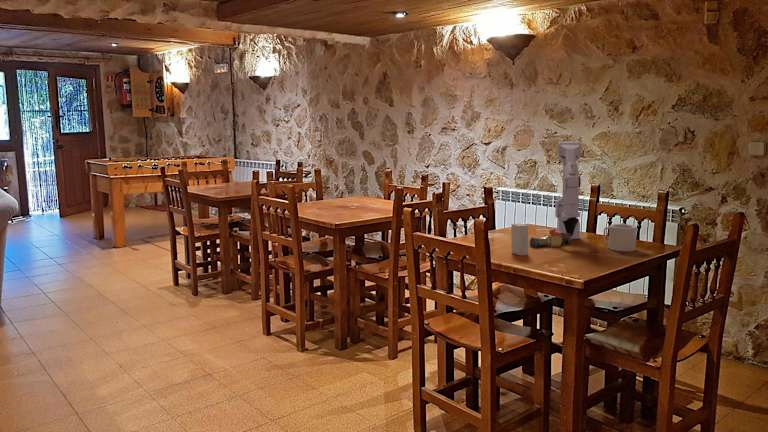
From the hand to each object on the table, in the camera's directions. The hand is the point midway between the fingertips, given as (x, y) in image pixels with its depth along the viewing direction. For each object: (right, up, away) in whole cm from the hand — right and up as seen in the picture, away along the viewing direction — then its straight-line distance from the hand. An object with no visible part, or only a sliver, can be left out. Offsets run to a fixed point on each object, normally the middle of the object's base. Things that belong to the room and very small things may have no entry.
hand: (569, 235), depth 259 cm
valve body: (-6, -4, +6) cm, 10 cm away
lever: (-4, 0, +1) cm, 4 cm away
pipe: (-7, -4, +6) cm, 10 cm away
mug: (+20, -6, -1) cm, 21 cm away
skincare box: (-24, -7, -10) cm, 27 cm away
